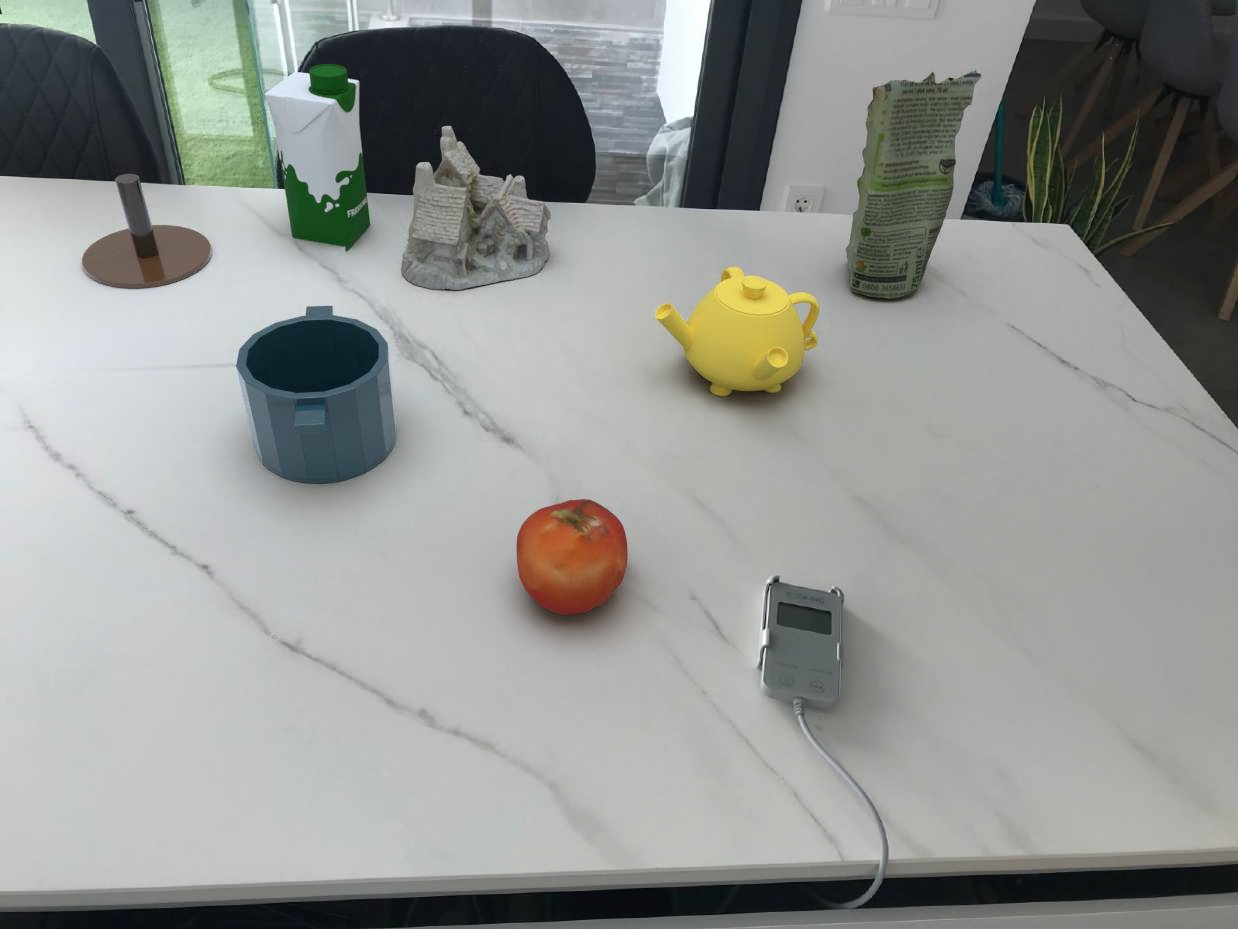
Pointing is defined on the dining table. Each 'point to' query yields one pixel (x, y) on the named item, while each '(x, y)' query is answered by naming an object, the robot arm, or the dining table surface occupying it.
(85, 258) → the lid
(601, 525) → the tomato
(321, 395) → the pot
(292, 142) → the milk carton
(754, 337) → the teapot
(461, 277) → the ceramic cottage
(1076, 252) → the dining table surface
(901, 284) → the pouch
